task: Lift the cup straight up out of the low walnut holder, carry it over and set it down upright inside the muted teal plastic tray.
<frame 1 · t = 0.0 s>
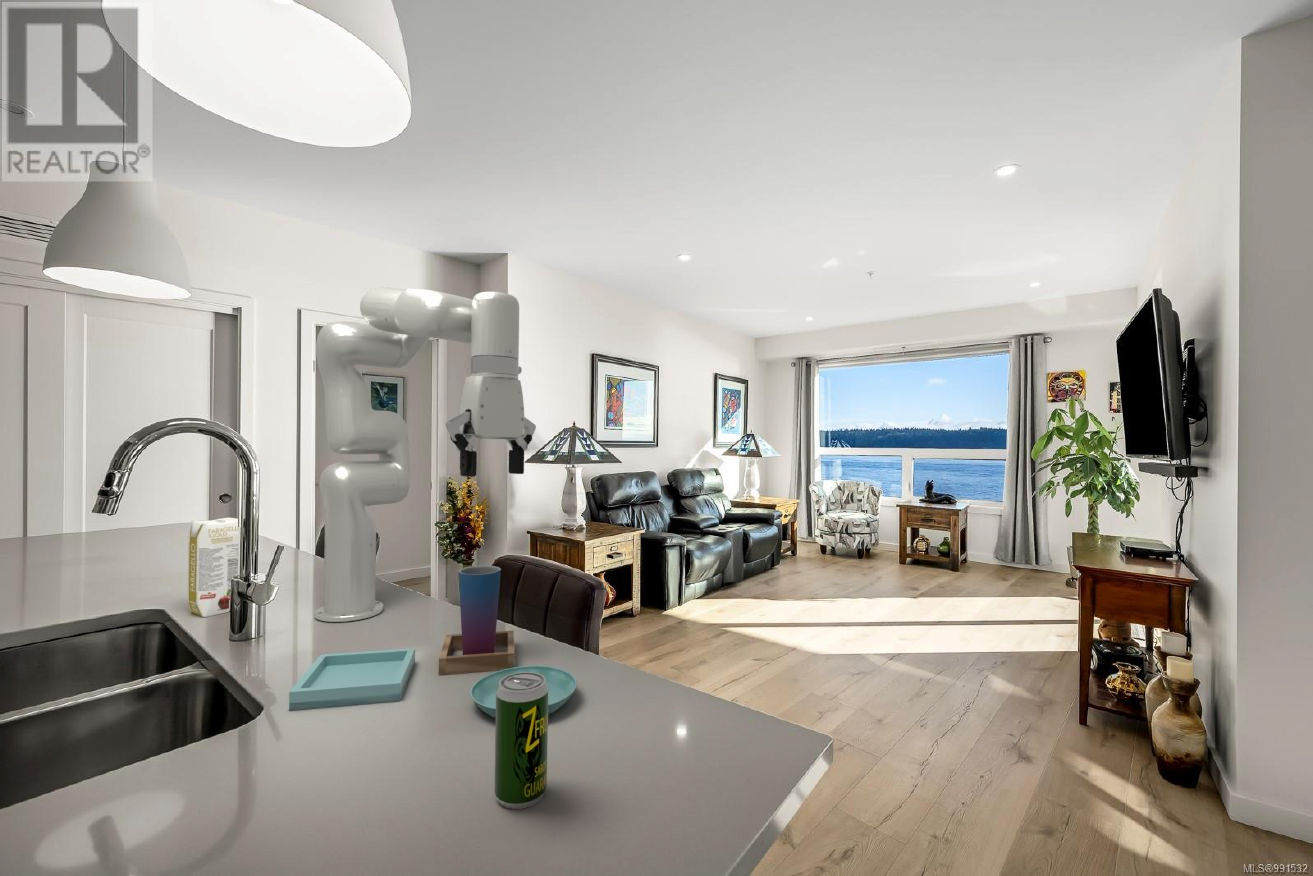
hand: (493, 474, 97), 31 cm above the worktop, tool pointing down, fingers open, 9 cm apart
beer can: (520, 797, 62), on the worktop
holder: (478, 658, 100), on the worktop
juice carton: (216, 612, 123), on the worktop
saucer: (524, 705, 84), on the worktop
cup: (478, 660, 100), resting in holder
tray: (358, 684, 89), on the worktop
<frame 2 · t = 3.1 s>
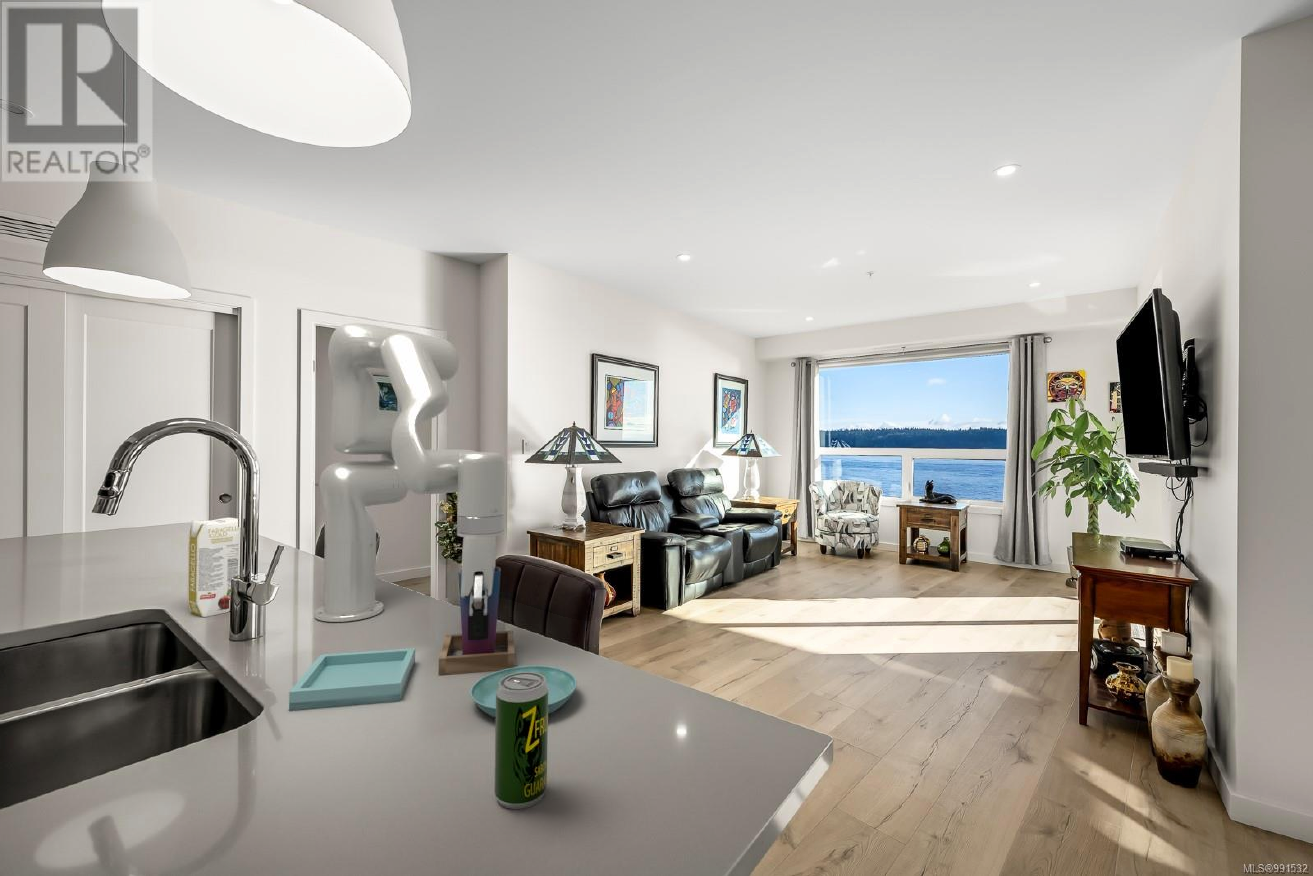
hand: (479, 631, 100), 5 cm above the worktop, tool pointing down, fingers closed on cup, 6 cm apart
cup: (478, 659, 100), resting in holder, touching gripper
everything else where it was.
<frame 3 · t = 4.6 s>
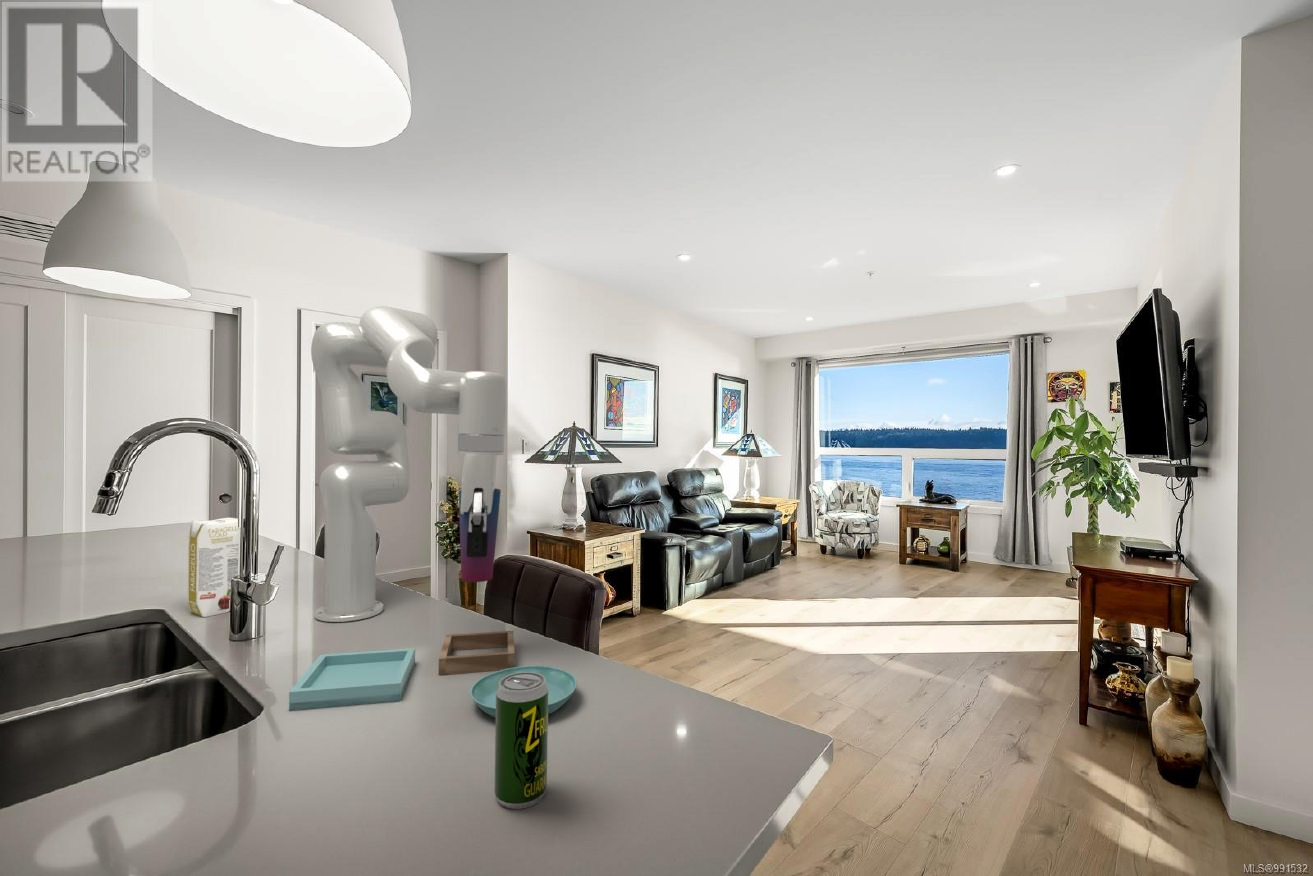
hand: (477, 551, 100), 18 cm above the worktop, tool pointing down, fingers closed on cup, 6 cm apart
cup: (476, 579, 100), point 13 cm above the worktop, touching gripper
everything else where it was.
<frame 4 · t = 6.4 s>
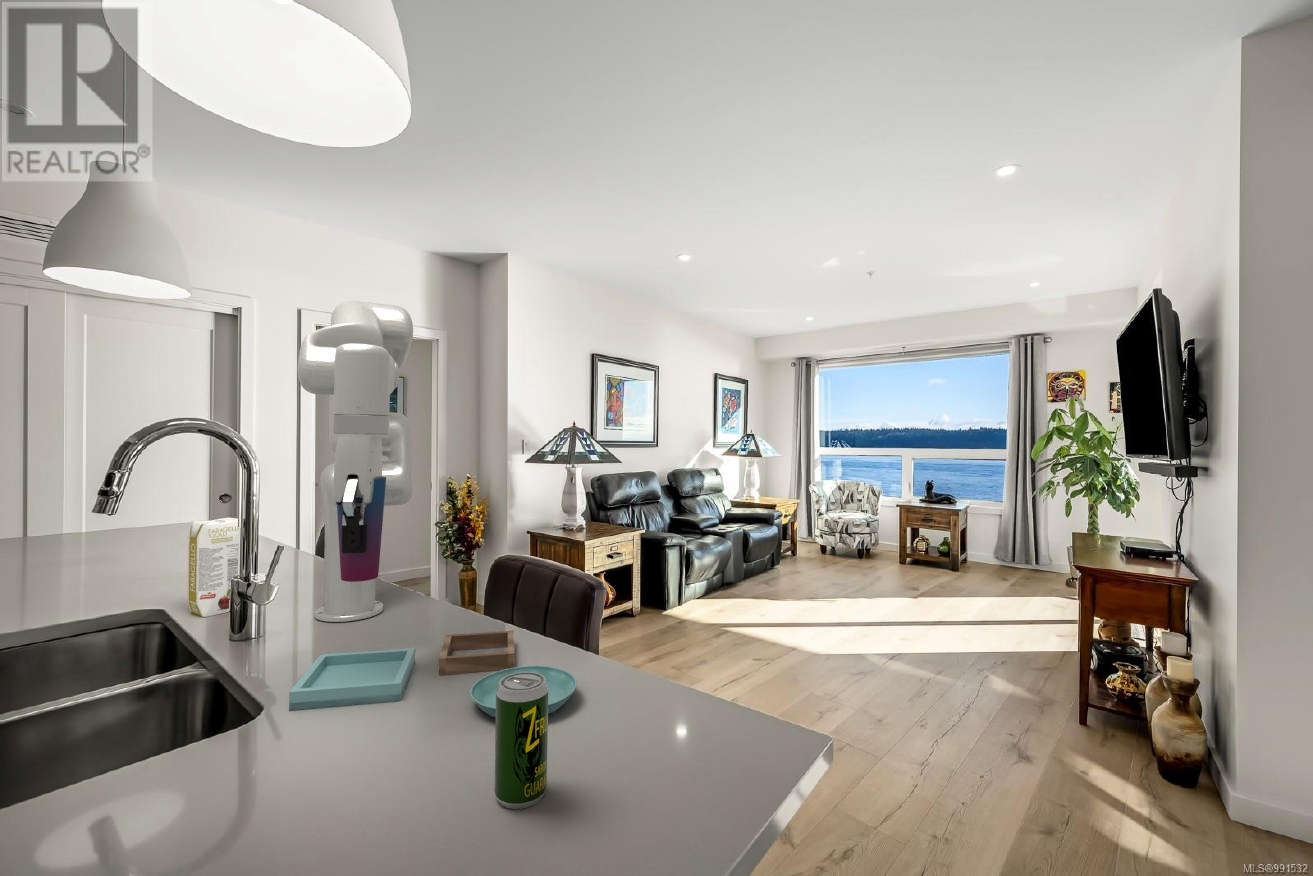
hand: (360, 547, 89), 21 cm above the worktop, tool pointing down, fingers closed on cup, 6 cm apart
cup: (359, 579, 89), point 16 cm above the worktop, touching gripper
everything else where it was.
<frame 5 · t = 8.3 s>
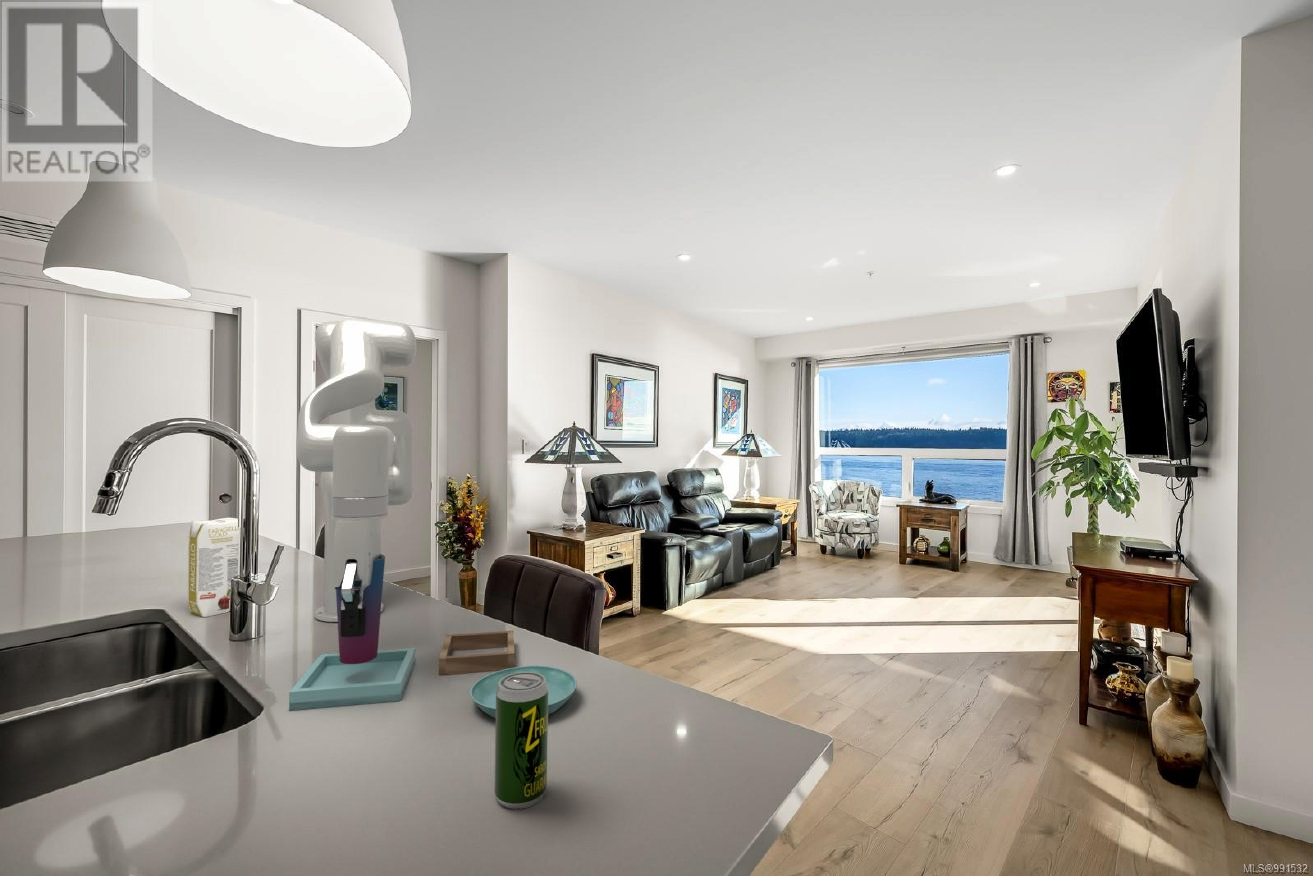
hand: (358, 627, 89), 9 cm above the worktop, tool pointing down, fingers closed on cup, 6 cm apart
cup: (358, 659, 89), point 4 cm above the worktop, touching gripper
everything else where it was.
when the fingers open (6 cm above the worktop, at t = 9.7 s): cup stays where it is, resting on tray.
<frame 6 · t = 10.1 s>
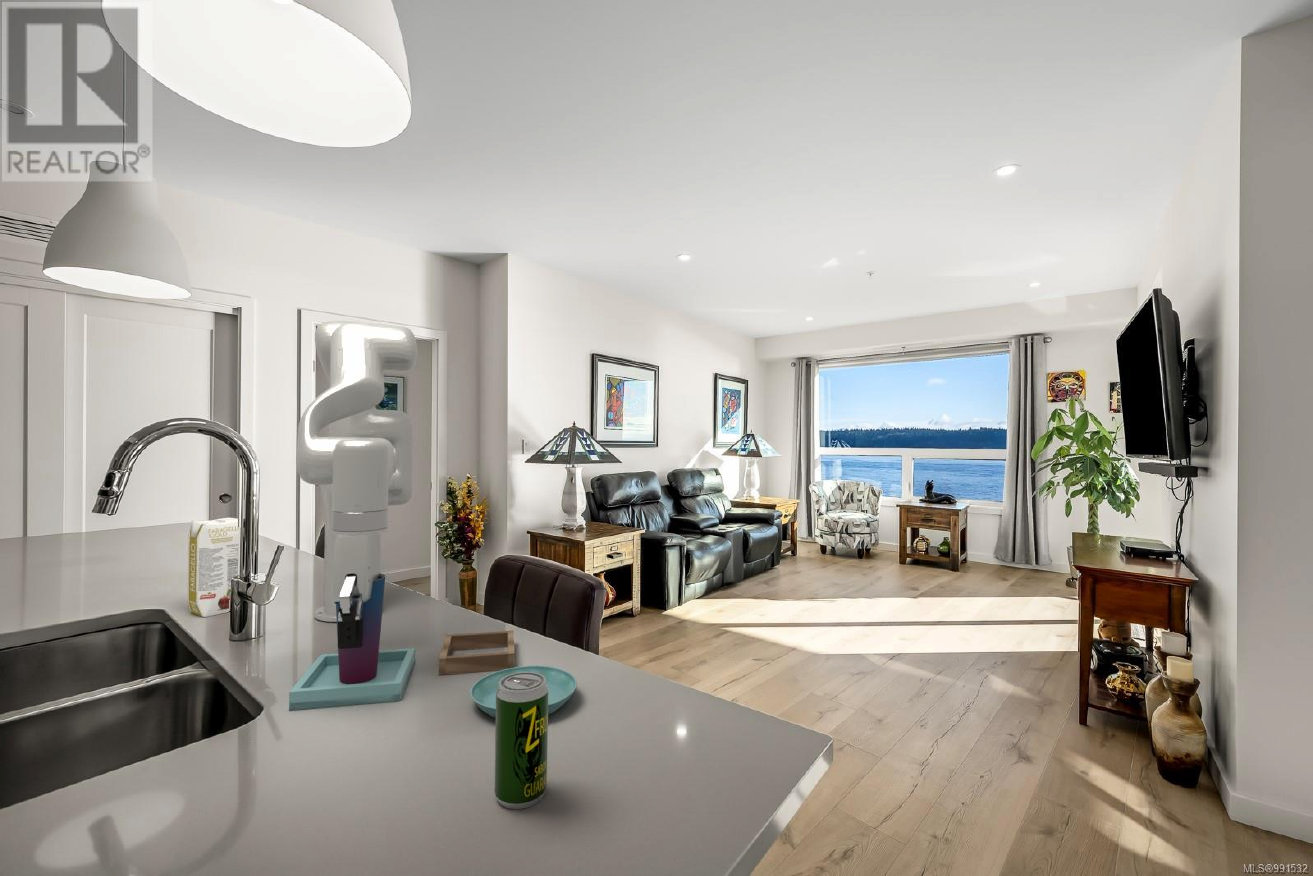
hand: (358, 636, 89), 7 cm above the worktop, tool pointing down, fingers open, 9 cm apart
cup: (358, 678, 89), point 1 cm above the worktop, touching tray
everything else where it was.
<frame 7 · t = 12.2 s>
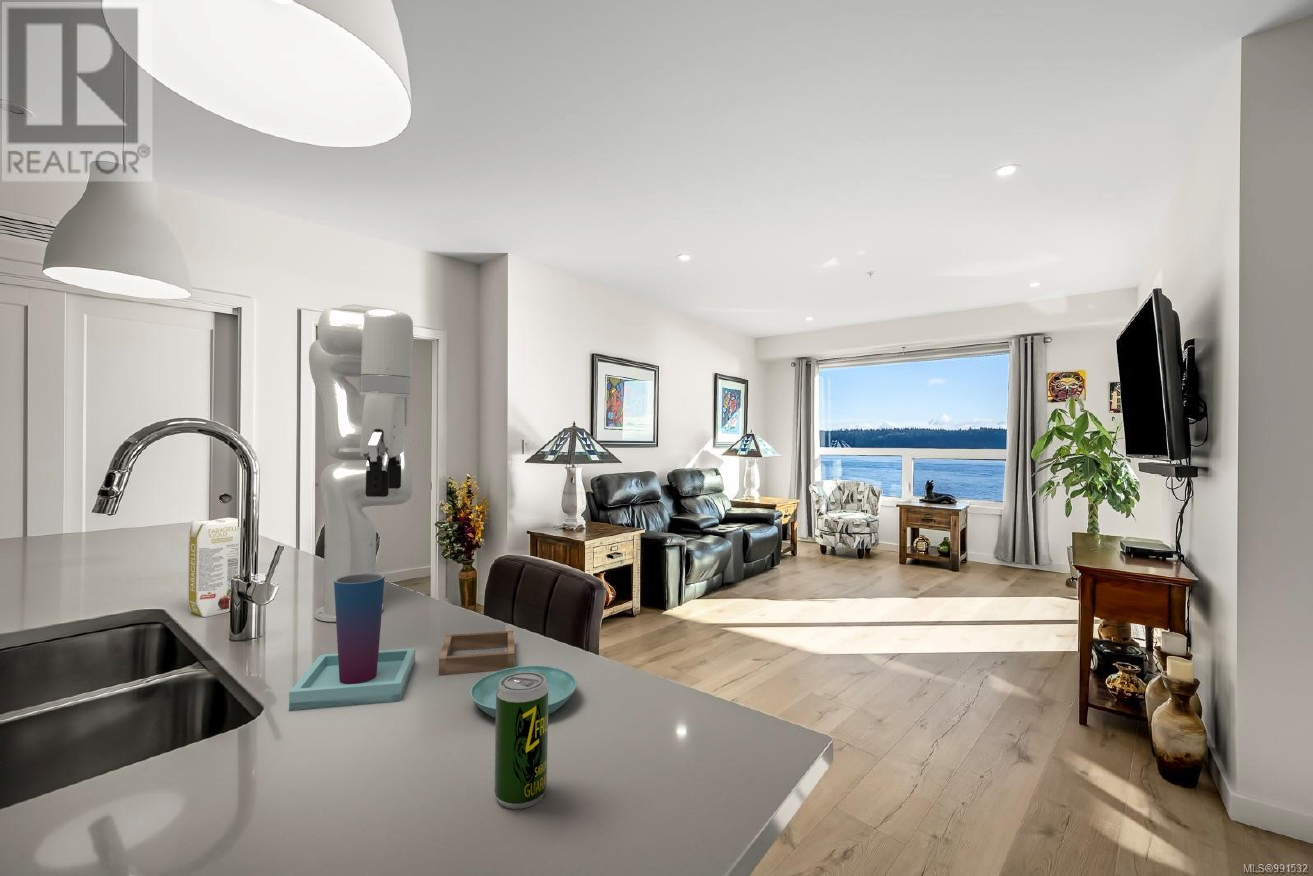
hand: (384, 492, 97), 28 cm above the worktop, tool pointing down, fingers open, 9 cm apart
nothing on the worktop moved.
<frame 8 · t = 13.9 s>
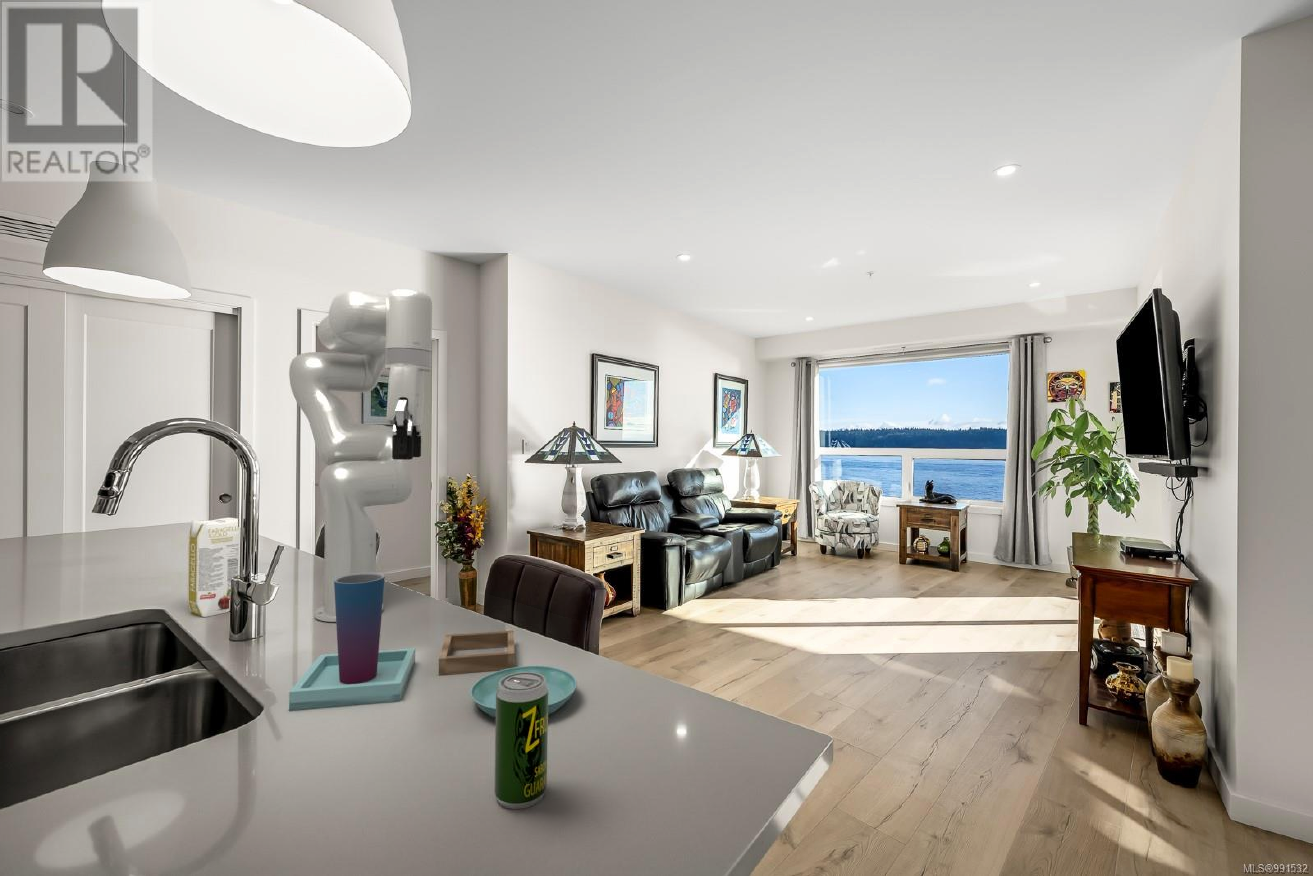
hand: (407, 458, 105), 33 cm above the worktop, tool pointing down, fingers open, 9 cm apart
nothing on the worktop moved.
at the end: cup inside the target area on the tray (0.2 cm from its centre), point 0.8 cm above the tray's base; cup tilted 0°; the gripper is holding nothing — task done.
